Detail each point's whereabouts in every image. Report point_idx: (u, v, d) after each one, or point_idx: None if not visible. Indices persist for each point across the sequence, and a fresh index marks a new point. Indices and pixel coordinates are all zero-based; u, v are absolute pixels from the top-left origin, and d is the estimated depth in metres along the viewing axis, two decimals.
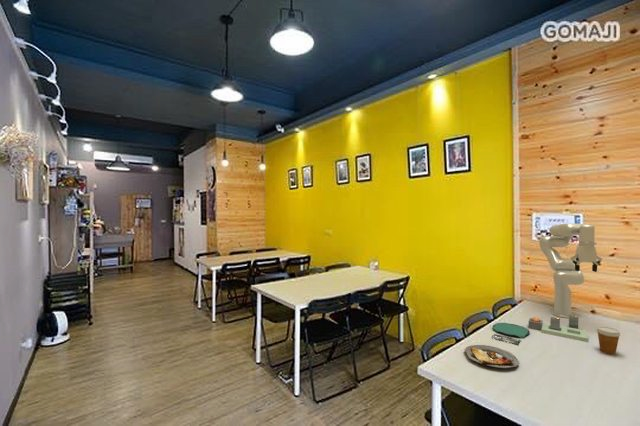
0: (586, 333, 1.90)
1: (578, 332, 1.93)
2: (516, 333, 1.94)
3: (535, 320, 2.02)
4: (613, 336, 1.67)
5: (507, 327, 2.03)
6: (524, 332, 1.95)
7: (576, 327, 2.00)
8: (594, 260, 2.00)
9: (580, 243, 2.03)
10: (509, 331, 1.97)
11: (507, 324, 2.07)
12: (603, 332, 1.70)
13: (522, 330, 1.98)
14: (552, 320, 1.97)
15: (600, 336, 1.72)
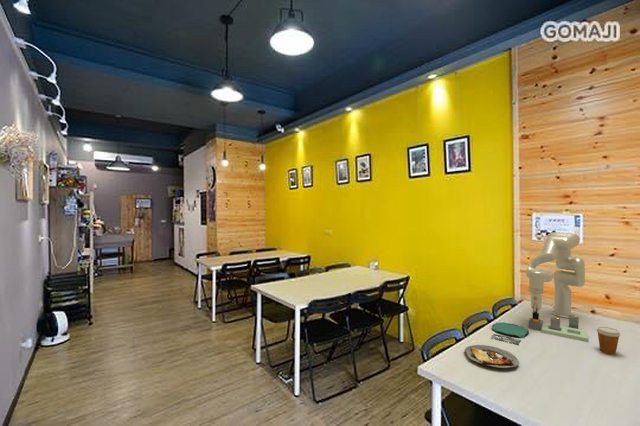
0: (586, 333, 1.90)
1: (578, 332, 1.93)
2: (515, 333, 1.94)
3: (535, 321, 2.02)
4: (613, 336, 1.67)
5: (506, 327, 2.04)
6: (523, 332, 1.95)
7: (576, 327, 2.00)
8: (531, 306, 2.02)
9: None
10: (508, 331, 1.98)
11: (506, 324, 2.08)
12: (603, 332, 1.70)
13: (521, 330, 1.99)
14: (552, 320, 1.97)
15: (600, 336, 1.72)
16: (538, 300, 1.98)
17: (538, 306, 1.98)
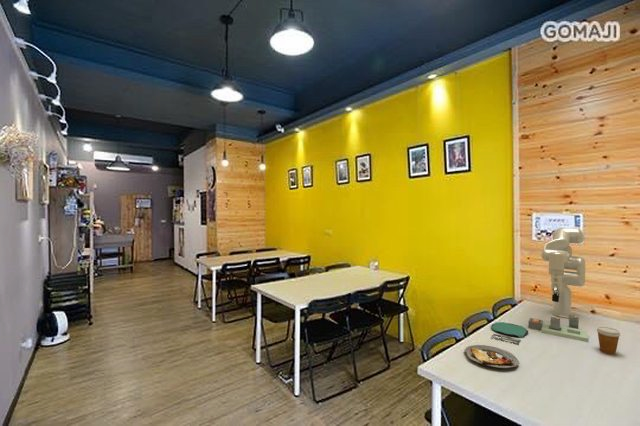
0: (586, 333, 1.90)
1: (578, 332, 1.93)
2: (515, 333, 1.95)
3: None
4: (613, 336, 1.67)
5: (505, 327, 2.04)
6: (523, 331, 1.96)
7: (576, 327, 2.00)
8: (551, 288, 1.95)
9: None
10: (508, 331, 1.98)
11: (505, 324, 2.08)
12: (603, 332, 1.70)
13: (520, 329, 1.99)
14: (552, 320, 1.97)
15: (600, 336, 1.72)
16: (559, 282, 1.92)
17: (559, 288, 1.92)
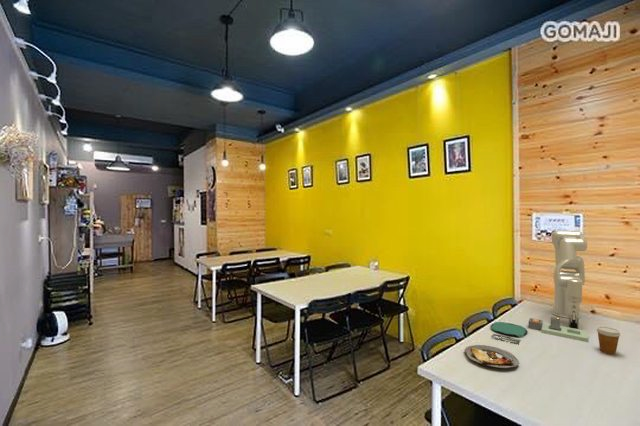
0: (586, 333, 1.90)
1: (578, 332, 1.93)
2: (514, 332, 1.95)
3: None
4: (613, 336, 1.67)
5: (505, 326, 2.04)
6: (522, 331, 1.96)
7: None
8: None
9: None
10: (507, 330, 1.98)
11: (504, 323, 2.08)
12: (603, 332, 1.70)
13: (520, 329, 1.99)
14: (552, 320, 1.97)
15: (600, 336, 1.72)
16: (577, 309, 1.97)
17: (577, 315, 1.97)
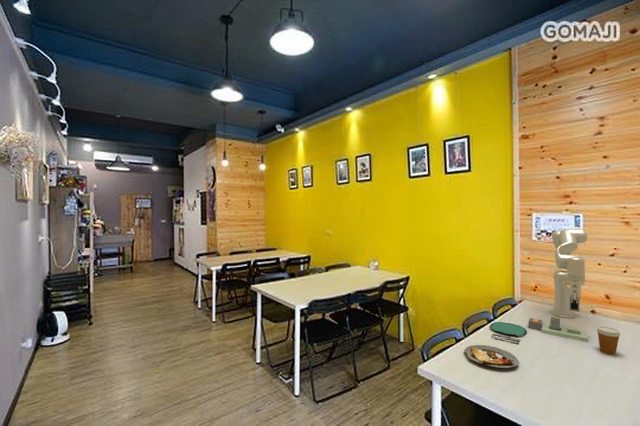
0: (586, 333, 1.90)
1: (578, 332, 1.93)
2: (514, 332, 1.95)
3: None
4: (613, 336, 1.67)
5: (504, 326, 2.05)
6: (521, 331, 1.97)
7: None
8: (570, 295, 1.90)
9: None
10: (507, 330, 1.98)
11: (503, 323, 2.09)
12: (603, 332, 1.70)
13: (519, 329, 2.00)
14: (552, 320, 1.97)
15: (600, 336, 1.72)
16: (578, 288, 1.86)
17: (578, 294, 1.86)
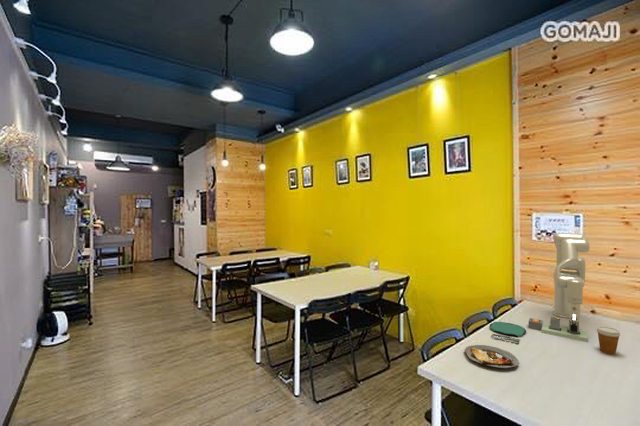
0: (586, 333, 1.90)
1: None
2: (513, 332, 1.96)
3: None
4: (613, 336, 1.67)
5: (503, 326, 2.05)
6: (521, 331, 1.97)
7: (576, 333, 1.90)
8: (569, 317, 1.90)
9: None
10: (506, 330, 1.99)
11: (503, 323, 2.09)
12: (603, 332, 1.70)
13: (518, 329, 2.00)
14: (552, 320, 1.97)
15: (600, 336, 1.72)
16: (577, 311, 1.87)
17: (577, 317, 1.87)
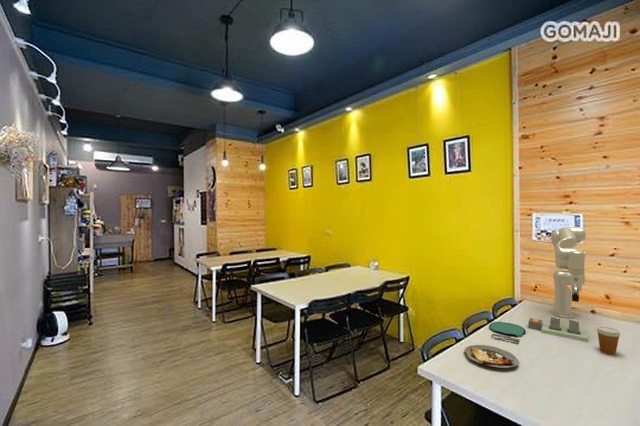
0: (586, 333, 1.90)
1: None
2: (513, 332, 1.96)
3: None
4: (613, 336, 1.67)
5: (503, 326, 2.05)
6: (520, 330, 1.97)
7: (576, 333, 1.90)
8: (571, 288, 1.93)
9: None
10: (506, 330, 1.99)
11: (502, 323, 2.09)
12: (603, 332, 1.70)
13: (518, 328, 2.01)
14: (552, 320, 1.97)
15: (600, 336, 1.72)
16: (579, 281, 1.89)
17: (579, 287, 1.89)
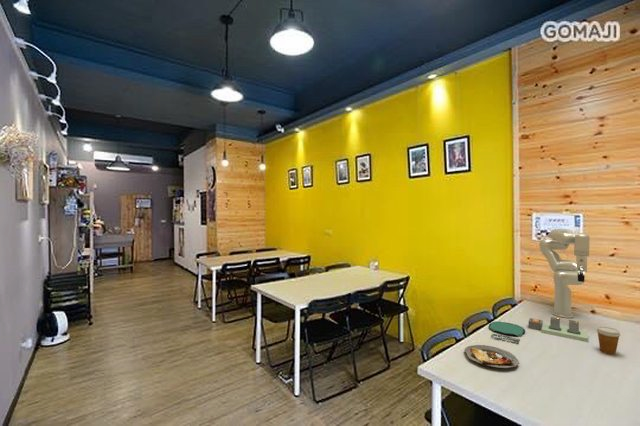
0: (586, 333, 1.90)
1: None
2: (513, 332, 1.96)
3: None
4: (613, 336, 1.67)
5: (502, 326, 2.05)
6: (520, 330, 1.98)
7: (576, 333, 1.90)
8: (577, 269, 2.04)
9: None
10: (505, 330, 1.99)
11: (501, 323, 2.09)
12: (603, 332, 1.70)
13: (517, 328, 2.01)
14: (552, 320, 1.97)
15: (600, 336, 1.72)
16: (584, 262, 2.00)
17: (584, 268, 2.00)
